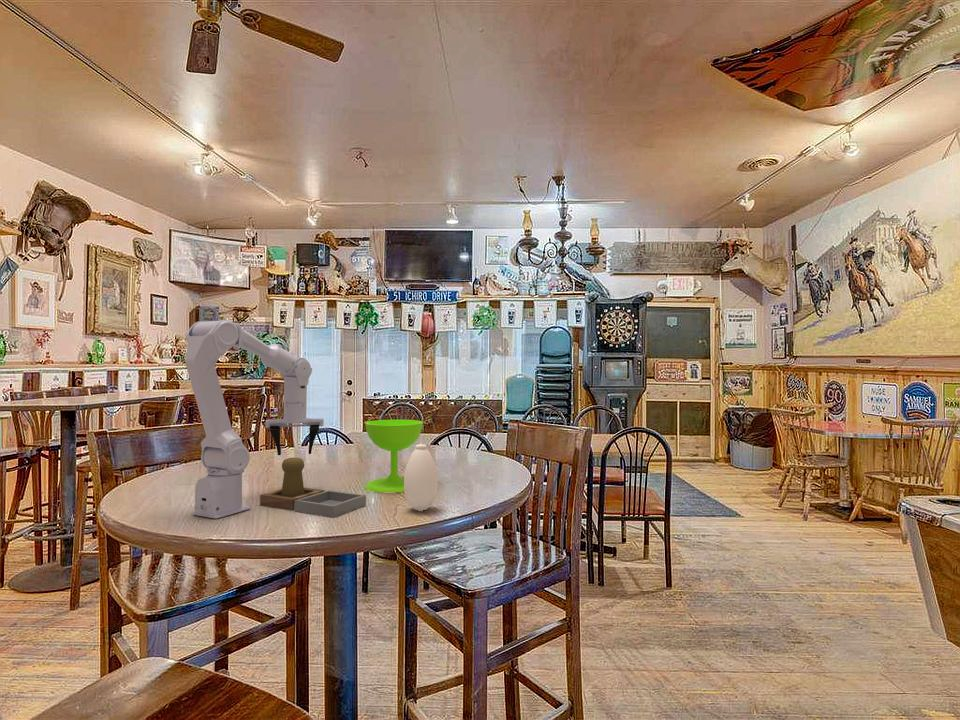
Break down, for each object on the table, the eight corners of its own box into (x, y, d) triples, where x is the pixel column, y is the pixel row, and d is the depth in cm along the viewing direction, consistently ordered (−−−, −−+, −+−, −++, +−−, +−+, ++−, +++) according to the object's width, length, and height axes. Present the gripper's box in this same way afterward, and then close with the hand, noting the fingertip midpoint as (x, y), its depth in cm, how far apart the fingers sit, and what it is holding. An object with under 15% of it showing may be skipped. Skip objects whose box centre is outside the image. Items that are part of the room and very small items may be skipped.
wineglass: (358, 492, 143) (358, 425, 143) (372, 480, 159) (372, 419, 159) (417, 493, 142) (418, 425, 142) (426, 480, 158) (426, 419, 158)
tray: (333, 517, 119) (333, 506, 119) (294, 511, 124) (294, 500, 124) (365, 505, 130) (366, 495, 130) (328, 500, 135) (328, 490, 135)
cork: (300, 506, 129) (301, 460, 129) (275, 505, 129) (276, 460, 129) (309, 499, 135) (309, 456, 135) (285, 499, 135) (285, 455, 135)
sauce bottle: (444, 508, 127) (444, 432, 127) (424, 516, 120) (424, 436, 120) (417, 504, 131) (418, 430, 131) (397, 511, 124) (397, 434, 124)
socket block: (292, 510, 125) (293, 499, 125) (260, 505, 129) (260, 494, 129) (324, 500, 134) (324, 490, 134) (292, 495, 139) (292, 486, 139)
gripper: (323, 401, 148) (323, 450, 148) (267, 402, 144) (266, 452, 144) (323, 403, 141) (323, 454, 141) (264, 403, 137) (264, 457, 137)
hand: (294, 454), depth 142 cm, fingers open, 7 cm apart
